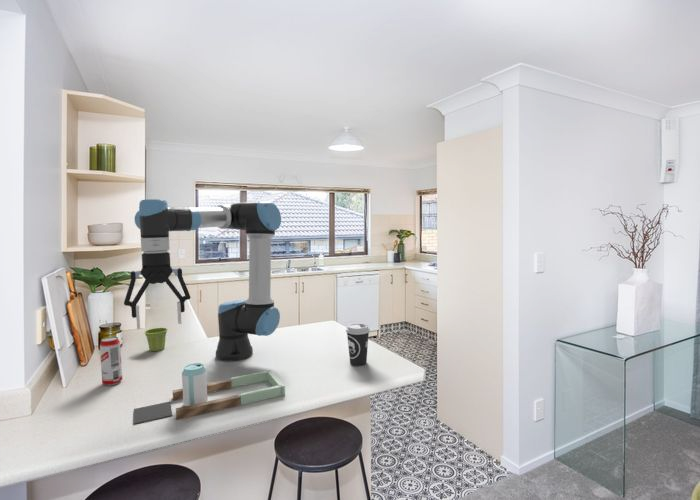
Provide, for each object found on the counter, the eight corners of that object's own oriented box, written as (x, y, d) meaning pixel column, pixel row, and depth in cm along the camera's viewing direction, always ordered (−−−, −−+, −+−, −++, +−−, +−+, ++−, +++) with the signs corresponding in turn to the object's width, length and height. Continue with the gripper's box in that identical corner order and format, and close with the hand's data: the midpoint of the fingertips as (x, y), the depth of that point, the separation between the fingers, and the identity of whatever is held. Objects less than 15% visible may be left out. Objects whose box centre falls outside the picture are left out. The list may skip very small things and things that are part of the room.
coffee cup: (368, 368, 150) (367, 329, 149) (343, 366, 152) (343, 328, 151) (371, 359, 160) (371, 323, 159) (348, 358, 162) (348, 322, 161)
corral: (240, 404, 122) (240, 395, 122) (230, 386, 136) (230, 377, 136) (285, 394, 128) (284, 385, 128) (270, 377, 143) (270, 369, 142)
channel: (176, 419, 113) (176, 411, 113) (172, 397, 127) (172, 390, 127) (240, 405, 122) (239, 397, 122) (229, 386, 136) (229, 379, 136)
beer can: (107, 387, 136) (105, 342, 135) (98, 384, 139) (95, 339, 138) (126, 381, 141) (123, 337, 140) (116, 378, 145) (114, 335, 144)
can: (188, 399, 127) (186, 362, 126) (210, 398, 127) (208, 361, 126) (179, 409, 120) (178, 371, 119) (203, 408, 120) (201, 370, 119)
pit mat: (133, 424, 111) (133, 423, 111) (134, 409, 120) (134, 408, 120) (172, 415, 116) (172, 414, 116) (170, 402, 124) (170, 401, 124)
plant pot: (148, 354, 170) (147, 334, 170) (142, 349, 177) (141, 330, 177) (171, 349, 176) (170, 330, 176) (164, 344, 184) (163, 326, 183)
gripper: (109, 254, 108) (114, 334, 109) (198, 250, 119) (201, 323, 120) (111, 253, 114) (115, 327, 116) (195, 249, 125) (198, 317, 127)
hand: (159, 325), depth 118 cm, fingers open, 10 cm apart
